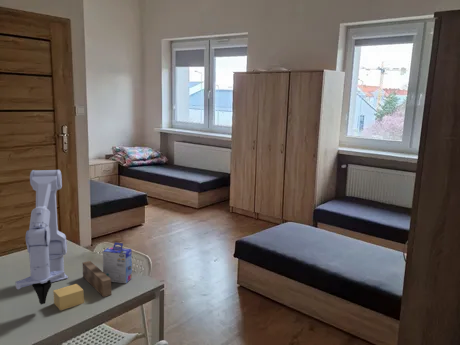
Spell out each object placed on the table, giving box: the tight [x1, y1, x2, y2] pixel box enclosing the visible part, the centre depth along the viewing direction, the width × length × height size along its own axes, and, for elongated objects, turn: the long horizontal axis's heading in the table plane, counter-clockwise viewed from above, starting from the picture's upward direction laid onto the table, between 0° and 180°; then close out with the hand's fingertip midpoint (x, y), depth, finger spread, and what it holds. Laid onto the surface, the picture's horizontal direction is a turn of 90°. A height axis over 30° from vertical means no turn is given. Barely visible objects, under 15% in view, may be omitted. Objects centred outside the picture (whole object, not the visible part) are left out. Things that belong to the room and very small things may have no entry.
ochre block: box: [52, 283, 85, 311], centre depth 138 cm, size 6×8×5 cm
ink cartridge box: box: [102, 242, 133, 284], centre depth 156 cm, size 10×6×14 cm, turn 78°
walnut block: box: [82, 260, 112, 298], centre depth 152 cm, size 20×3×6 cm, turn 40°
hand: (42, 302), depth 133 cm, fingers closed
